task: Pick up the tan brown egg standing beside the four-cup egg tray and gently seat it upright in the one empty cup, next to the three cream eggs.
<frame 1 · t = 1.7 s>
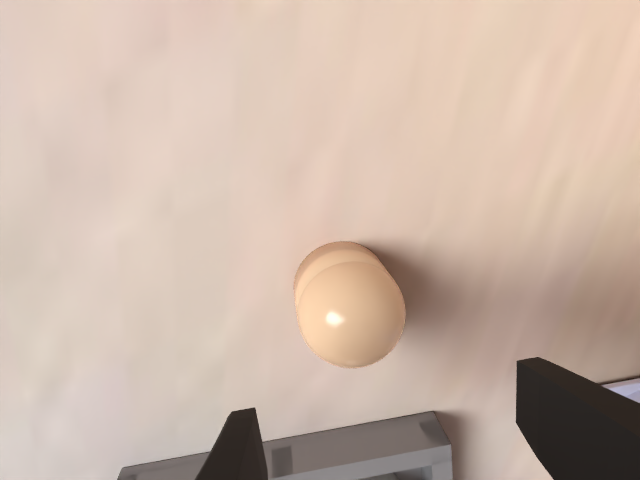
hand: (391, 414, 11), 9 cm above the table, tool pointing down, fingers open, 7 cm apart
tan egg: (340, 286, 20), on the table
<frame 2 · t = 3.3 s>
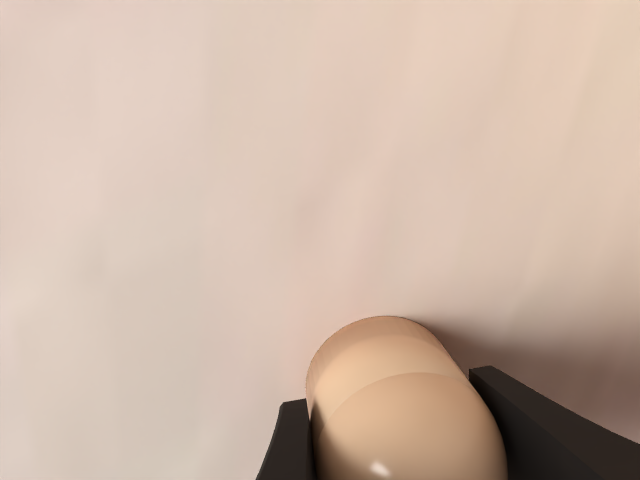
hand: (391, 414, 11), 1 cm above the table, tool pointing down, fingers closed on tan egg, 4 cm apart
tan egg: (378, 382, 13), on the table, touching gripper
when the fingers open (3 cm above the table, at t = 8.2 s): tan egg drops 1 cm, resting on egg tray.
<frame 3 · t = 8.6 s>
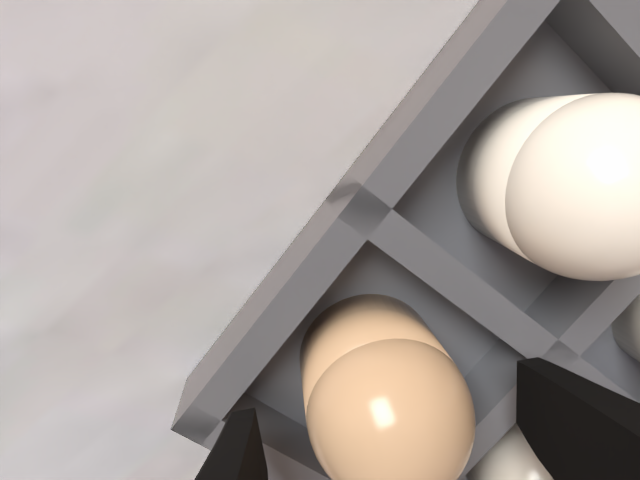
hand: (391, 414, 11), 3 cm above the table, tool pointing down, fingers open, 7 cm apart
cream egg 2: (525, 173, 13), point 1 cm above the table, touching egg tray
cream egg 3: (521, 457, 16), point 1 cm above the table, touching egg tray
tan egg: (365, 355, 14), point 1 cm above the table, touching egg tray
egg tray: (513, 323, 15), on the table
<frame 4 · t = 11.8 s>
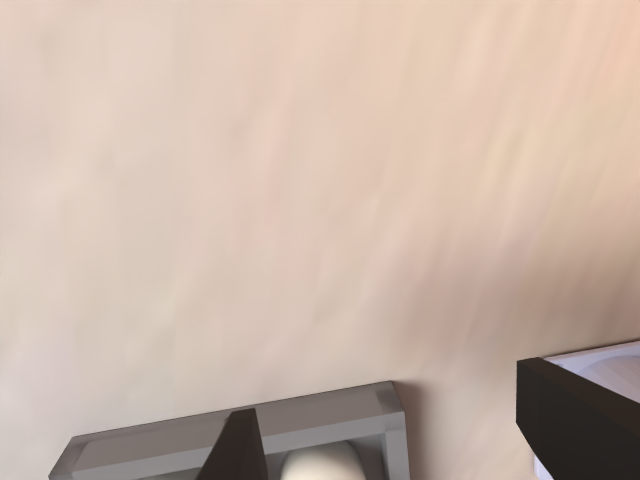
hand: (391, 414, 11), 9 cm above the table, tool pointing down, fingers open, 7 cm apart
cream egg 1: (320, 470, 23), point 1 cm above the table, touching egg tray
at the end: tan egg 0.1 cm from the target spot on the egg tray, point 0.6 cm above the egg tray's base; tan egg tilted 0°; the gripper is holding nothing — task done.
